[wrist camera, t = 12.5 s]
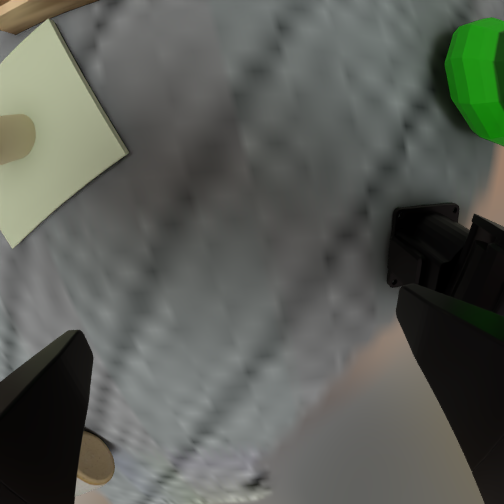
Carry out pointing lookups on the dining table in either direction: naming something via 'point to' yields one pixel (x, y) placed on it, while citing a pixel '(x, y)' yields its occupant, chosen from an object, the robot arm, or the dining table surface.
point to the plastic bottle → (478, 76)
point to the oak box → (33, 12)
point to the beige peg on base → (47, 132)
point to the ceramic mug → (93, 464)
